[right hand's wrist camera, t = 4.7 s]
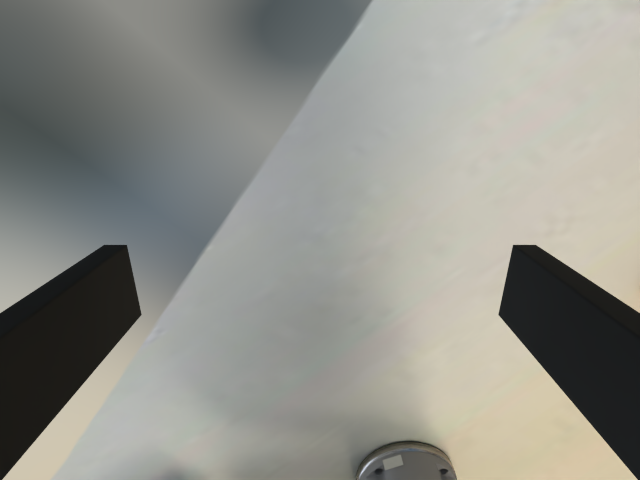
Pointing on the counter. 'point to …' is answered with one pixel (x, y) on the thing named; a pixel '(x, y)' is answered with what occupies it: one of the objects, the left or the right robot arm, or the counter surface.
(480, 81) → the counter surface
